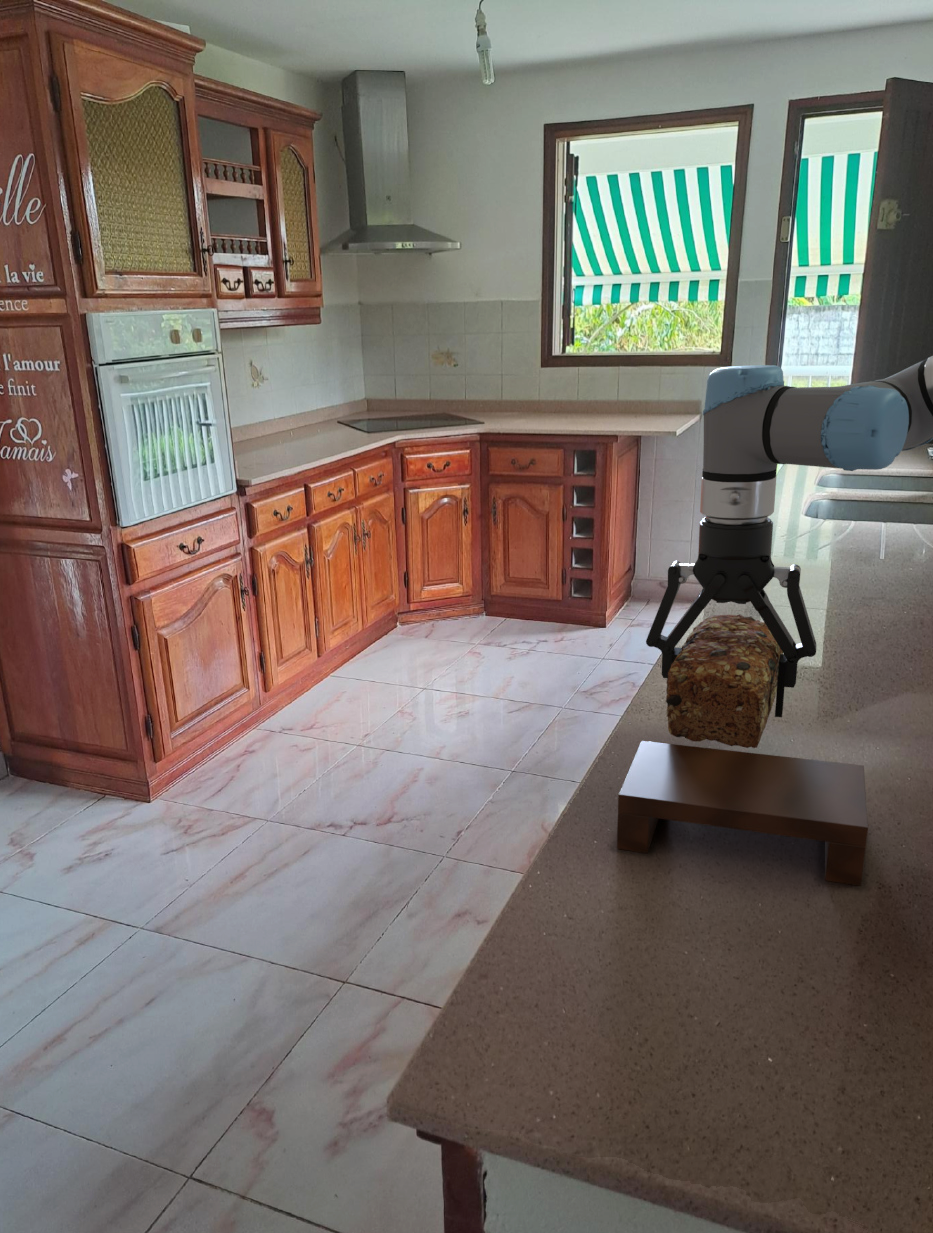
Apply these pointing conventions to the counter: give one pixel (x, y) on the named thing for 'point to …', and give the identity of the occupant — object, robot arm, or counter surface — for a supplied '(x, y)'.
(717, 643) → the bread
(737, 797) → the shelf
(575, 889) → the counter surface
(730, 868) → the counter surface
